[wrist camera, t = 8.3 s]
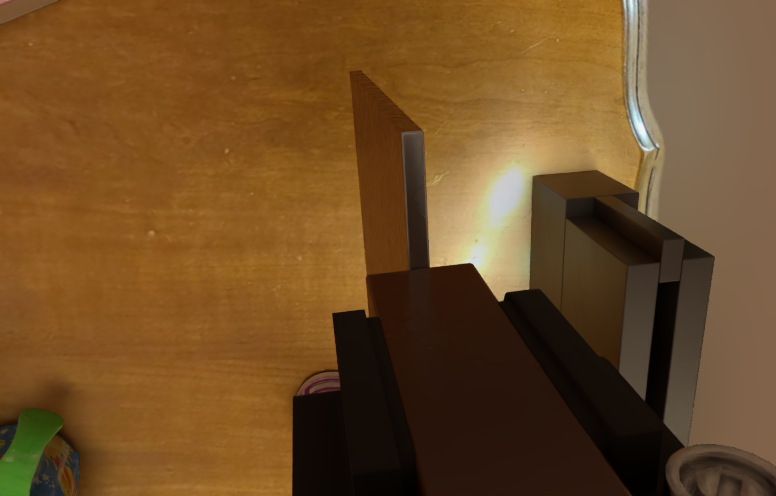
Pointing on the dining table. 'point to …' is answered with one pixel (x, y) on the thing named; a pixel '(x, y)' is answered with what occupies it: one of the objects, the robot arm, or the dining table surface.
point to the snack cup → (37, 457)
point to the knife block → (624, 286)
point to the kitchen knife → (457, 341)
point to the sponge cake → (20, 8)
